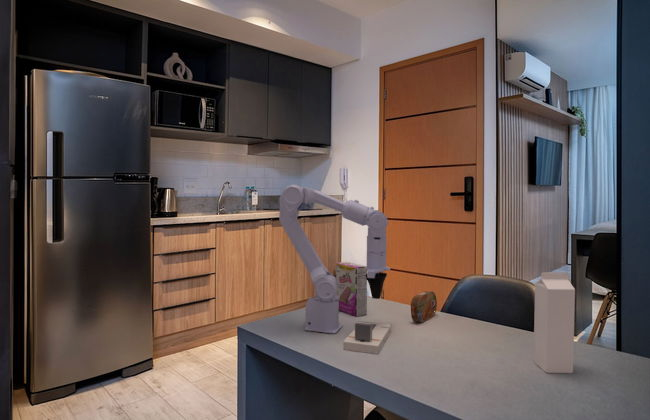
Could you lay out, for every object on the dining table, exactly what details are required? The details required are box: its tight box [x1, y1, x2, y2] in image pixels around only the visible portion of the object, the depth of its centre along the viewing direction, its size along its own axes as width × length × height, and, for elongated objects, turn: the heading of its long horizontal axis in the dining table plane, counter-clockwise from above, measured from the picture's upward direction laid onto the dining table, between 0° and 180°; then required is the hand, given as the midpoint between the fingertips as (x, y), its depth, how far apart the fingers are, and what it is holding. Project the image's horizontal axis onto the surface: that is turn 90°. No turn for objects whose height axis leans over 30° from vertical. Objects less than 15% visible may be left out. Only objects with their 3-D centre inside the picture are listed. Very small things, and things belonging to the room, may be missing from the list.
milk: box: [533, 271, 576, 374], centre depth 94 cm, size 6×6×22 cm
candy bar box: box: [335, 261, 368, 318], centre depth 138 cm, size 11×5×16 cm, turn 37°
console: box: [342, 322, 392, 355], centre depth 111 cm, size 9×18×2 cm, turn 160°
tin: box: [410, 290, 438, 324], centre depth 131 cm, size 15×3×8 cm, turn 142°
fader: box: [354, 320, 373, 341], centre depth 106 cm, size 4×2×4 cm, turn 70°
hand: (376, 298), depth 120 cm, fingers closed
